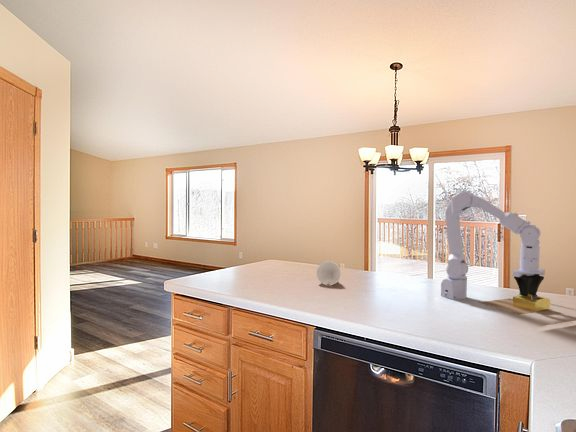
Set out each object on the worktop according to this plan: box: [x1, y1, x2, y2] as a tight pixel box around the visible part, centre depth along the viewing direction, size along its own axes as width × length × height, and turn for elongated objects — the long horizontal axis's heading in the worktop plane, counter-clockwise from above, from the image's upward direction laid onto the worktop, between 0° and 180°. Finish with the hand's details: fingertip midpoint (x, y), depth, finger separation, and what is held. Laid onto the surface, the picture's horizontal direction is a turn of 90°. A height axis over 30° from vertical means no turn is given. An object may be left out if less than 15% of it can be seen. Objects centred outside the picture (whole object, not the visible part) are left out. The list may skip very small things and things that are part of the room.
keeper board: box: [478, 294, 553, 315], centre depth 129 cm, size 18×16×6 cm
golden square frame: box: [512, 294, 551, 313], centre depth 126 cm, size 8×8×4 cm
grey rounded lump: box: [315, 260, 342, 286], centre depth 173 cm, size 12×12×18 cm
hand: (528, 295), depth 126 cm, fingers open, 4 cm apart
